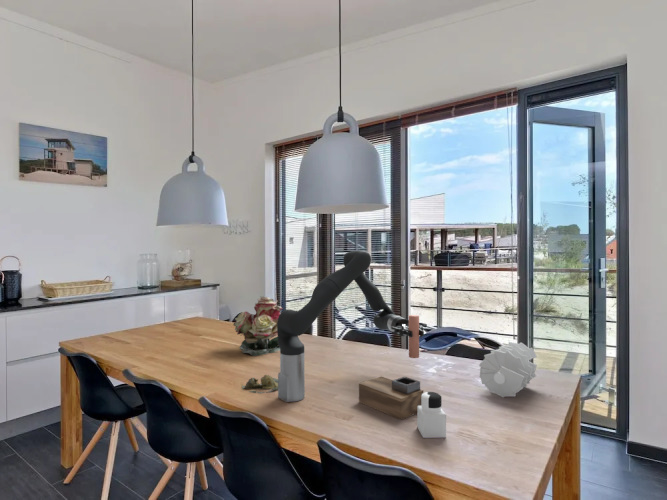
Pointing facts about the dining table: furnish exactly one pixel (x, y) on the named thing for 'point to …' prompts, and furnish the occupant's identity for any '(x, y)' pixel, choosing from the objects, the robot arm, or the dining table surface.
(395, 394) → the brown wooden block
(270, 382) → the mossy rock cluster
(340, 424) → the dining table surface
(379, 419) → the dining table surface
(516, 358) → the spiral staircase
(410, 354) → the key peg
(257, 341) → the rose bouquet
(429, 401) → the medicine bottle
